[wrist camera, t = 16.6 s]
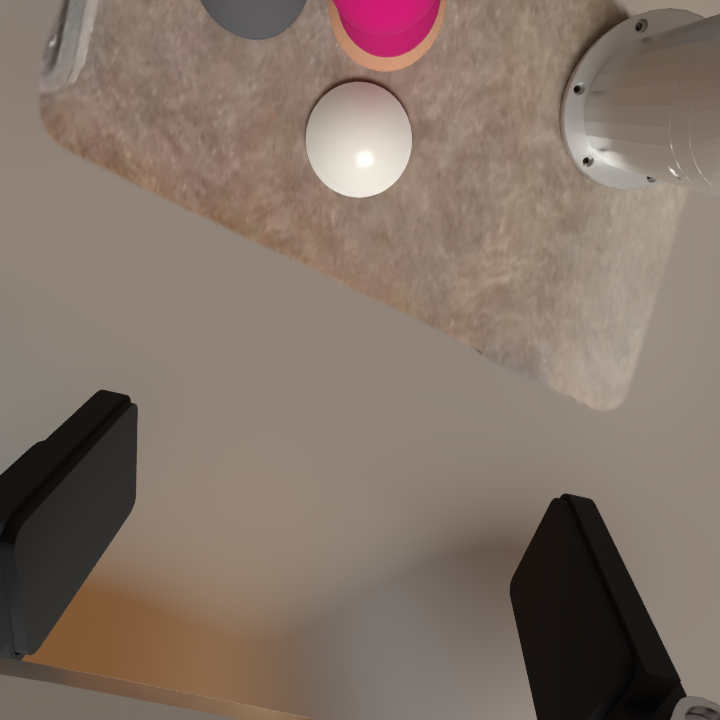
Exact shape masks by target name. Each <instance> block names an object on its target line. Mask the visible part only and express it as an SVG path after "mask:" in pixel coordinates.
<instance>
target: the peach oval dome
mask: <svg viewBox="0 0 720 720" xmlns="http://www.w3.org/2000/svg"><path fill="white" fill-rule="evenodd" d="M328 8H329V17H330V21H331V26H332V28H333V31H334V34H335V36H336V38H337V40H338V42H339V44H340V45H341V47H342V48H343V50H344V51H345V52H346V53H347V54H348V55H349V56H350V57H351V58H352V59H353V60H354V61H356V62H357V63H359V64H360V65H362V66H364V67H366V68H369V69H372V70H377V71H394V70H398V69H402V68H404V67H406V66H409V65H411V64H412V63H414V62H415V61H417V60H418V59H419V58H420V57H422V56H423V55H424V54H425V53H426V51H427V50H428V49H429V48H430V47H431V45H432V44H433V42H434V41H435V39H436V37H437V35H438V33H439V31H440V28H441V26H442V22H443V19H444V14H445V9H446V0H441V2H440V7H439V11H438V15H437V18H436V20H435V23H434V25H433V27H432V29H431V30H430V32H429V34H428V35H427V36H426V37H425V39H424V40H423V41H422V42H421V43H420V44H419V45H418V46H417V47H415V48H414V49H412V50H411V51H409V52H407V53H405V54H403V55H400V56H396V57H387V58H385V57H378V56H374V55H371V54H369V53H367V52H365V51H363V50H362V49H361V48H359V47H358V46H357V45H355V43H354V42H353V41H352V40H351V39H350V37H349V36H348V35H347V33H346V31H345V30H344V28H343V25H342V23H341V21H340V17H339V13H338V9H337V8H336V6H335V4H334V3H333V1H332V0H328Z"/></svg>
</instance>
